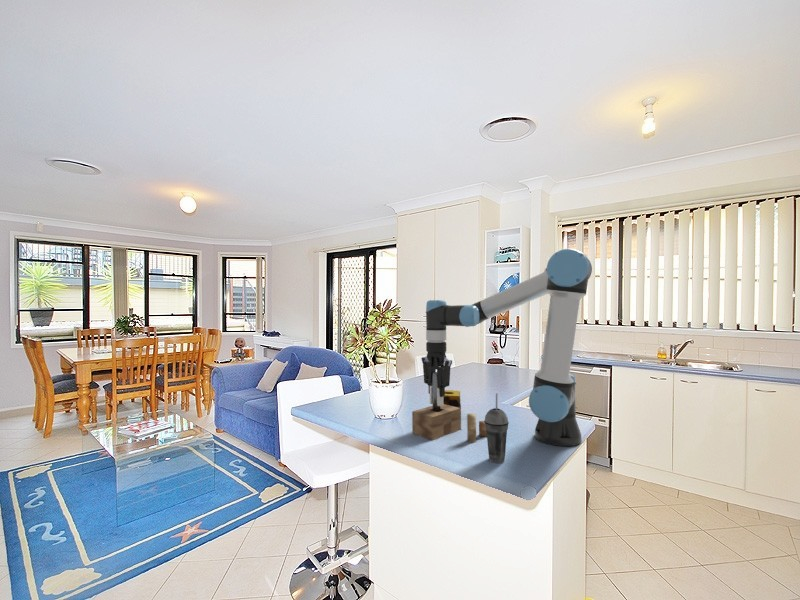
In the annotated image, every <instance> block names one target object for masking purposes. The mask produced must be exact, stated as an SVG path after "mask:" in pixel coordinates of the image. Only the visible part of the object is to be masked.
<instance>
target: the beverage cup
mask: <svg viewBox="0 0 800 600" xmlns="http://www.w3.org/2000/svg"><path fill="white" fill-rule="evenodd" d="M498 395H499V394H498V393H495V407H494V408H491V409H489V410H488V411H487V412H486V414H485V415H484V416H485V417H484V420H483V421H484V422H485V427H486V432H487V437H486V440H487V441H486V442H487V450H488V451H487V453H488V458H489V459H488V460H489V461H490V462H491V463H494V464H503V463H504V462H505V458H506V450H507V449H506V447H507V435H508V429H509V424H510V423H509V419H508V416H507V414H506V413H505V411H504V410H503V409H500V408H498Z"/></svg>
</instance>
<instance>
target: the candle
mask: <svg viewBox="0 0 800 600" xmlns="http://www.w3.org/2000/svg"><path fill="white" fill-rule="evenodd" d="M443 402H444V404H445V405H450V406H454V407H458V408H461V409H462V404H461V390H454V389H452V390H451V389H450V390H449V389H447V390H446V389H445V396H443Z"/></svg>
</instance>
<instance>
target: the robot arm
mask: <svg viewBox="0 0 800 600" xmlns="http://www.w3.org/2000/svg"><path fill="white" fill-rule="evenodd" d="M592 273H593V266H592V263H591V261H590V259H588V257H587V255H586V253H583V252H582V251H581V250H578V249H574V248H564V249H560V250H557V251H556V252H555V253H553V254H552V255H551V256H550V258H549V259H548V261H547V265H546V268H544V271H543V272H542V273H539V274H537V275H535V276H533V277H531V278H527V279H526V280H524V281H521V282H519V283H517V284H515V285H513V286H511V287H508V288H506V289H503V290H501V291H499V292H497V293H495V294H493V295H490V296H487V297H486V298H483V299H482V300H479V301H477V302H474V303H473V304H463V305H462V304H461V305H459V304H457V305H449V304H448V305H447V301H446V300H445V299H438V300H437V299H436V300H435V299H432V300H431V299H429V300H428V301H426V305H425V306H426V307H425V318H426V319H425V320H426V321H425V323H426V324H425V325H426V327H425V329H426V330H425V332H426V333H425V339H426V341H427V342H425V345H426V347H425V348H426V350H425V351H426V352H427V353H426V356H422V357H421V362H422V369H423V372H422V373H423V383H424V384H426V385H428V395H429V405H432V373H433V372H437V375H438V383H439V387H438V388H437V406H440V405H444V402H443V396H445V390H446V387H450V381H451V366H452V365H453V360H451V359H448V357H447V354H446V353H447V342H446V341H447V327H448V326H449V327H450V326H452V327H454V326H455V327H466V328H469V327H476V326H477V325H479V324H481V323H483V322H484V321H486V320H488V319H491V318H494V317H496V316H498V315H501V314H503V313H505V312H507V311H510V310H512V309H515V308H517V307H519V306H522V305H525V304H527V303H529V302H531V301H534V300H537V299H539V298H542V297H544V296H546V295H549V296H550V298H549V306H548V313H547V319H546V326H545V327H546V328H545V333H544V334H545V335H544V343H543V348H542V349H543V350H542V357H541V363H540V369H539V370H538V371H537V372H535V374H534V379H533V387H532V390H531V392H530V394H529V396H528V405H529V408H530V411H531V413H533V414H534V416H535V417H537V418H538V420H537V423H536V426H535V429H534V437H535V438H536V440H537V441H539V442H542V443H545V444H548V445H553V446H559V447H571V446H573V447H575V446H577V445H580V444H581V443H582V441H583V440H582V432H581V429H580V427H579V424H578V421H577V418H576V417H577V416H576V410H577V409H576V406H577V405H576V385H577V382H576V377H575V375H573V374H571V373H570V371H571V365H572V358H573V351H574V343H575V338H576V337H575V336H576V331H577V330H576V329H577V322H578V315H579V309H580V301H581V299H583V297H585V296H586V295H587V292H588V290H587V289H588V286H589V285H588V284H589V279H590V278H591V276H592Z"/></svg>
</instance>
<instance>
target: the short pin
mask: <svg viewBox="0 0 800 600" xmlns="http://www.w3.org/2000/svg"><path fill="white" fill-rule="evenodd" d="M484 421H485V420H479V421H478V436H479V437H480V438H487V432H486V427H485V422H484Z"/></svg>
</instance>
